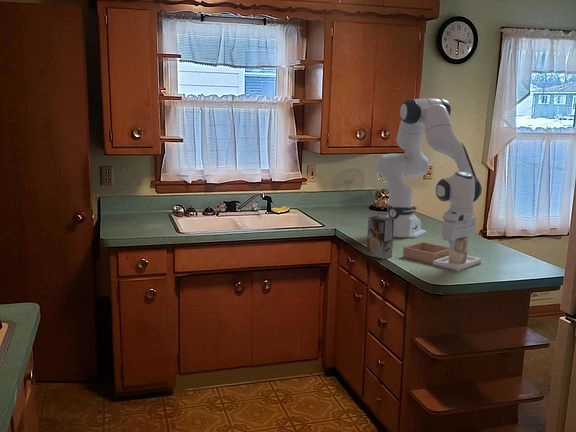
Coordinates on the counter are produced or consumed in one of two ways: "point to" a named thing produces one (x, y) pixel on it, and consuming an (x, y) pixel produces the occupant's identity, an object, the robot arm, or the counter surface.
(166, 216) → the counter surface
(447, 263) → the white tray
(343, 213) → the counter surface
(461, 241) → the maple block
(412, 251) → the terracotta square frame
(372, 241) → the coffee box
